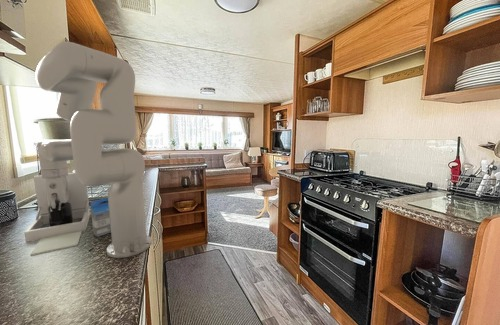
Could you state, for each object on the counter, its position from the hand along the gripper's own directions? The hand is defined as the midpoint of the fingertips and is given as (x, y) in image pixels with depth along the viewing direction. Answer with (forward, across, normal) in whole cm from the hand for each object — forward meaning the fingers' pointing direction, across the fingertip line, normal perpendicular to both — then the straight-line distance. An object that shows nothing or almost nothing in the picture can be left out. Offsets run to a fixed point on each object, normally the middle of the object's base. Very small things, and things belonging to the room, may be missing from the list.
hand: (60, 216), depth 82 cm
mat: (+4, -15, -2) cm, 16 cm away
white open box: (+4, 0, 0) cm, 4 cm away
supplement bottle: (+5, 0, 0) cm, 5 cm away
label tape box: (+4, -14, -16) cm, 22 cm away
